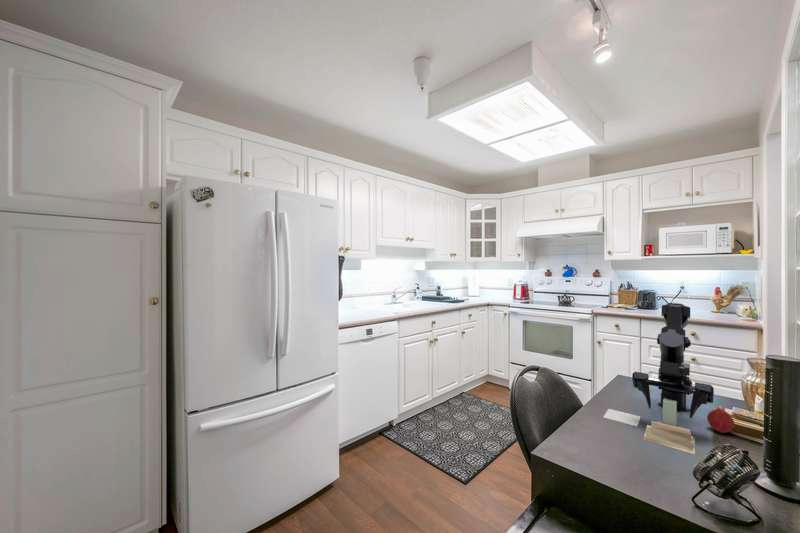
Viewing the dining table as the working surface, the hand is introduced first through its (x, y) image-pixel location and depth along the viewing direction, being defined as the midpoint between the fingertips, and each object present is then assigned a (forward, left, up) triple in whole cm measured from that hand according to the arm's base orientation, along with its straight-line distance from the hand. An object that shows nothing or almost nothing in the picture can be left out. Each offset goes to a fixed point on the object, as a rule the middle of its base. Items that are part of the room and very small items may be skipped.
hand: (669, 412), depth 96 cm
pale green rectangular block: (-1, -1, -7) cm, 7 cm away
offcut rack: (0, 0, -8) cm, 8 cm away
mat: (+4, -13, -8) cm, 16 cm away
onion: (-19, -3, -8) cm, 21 cm away
